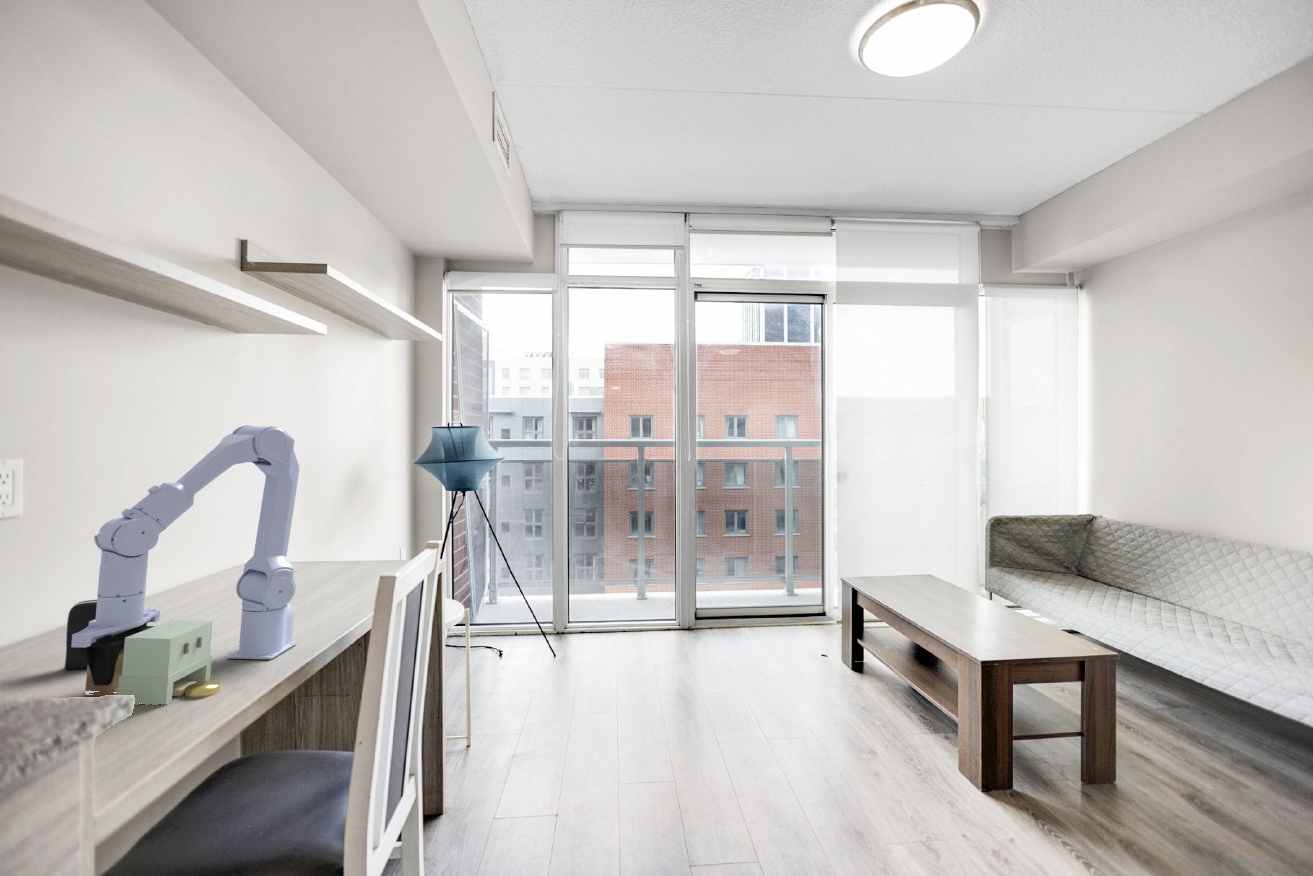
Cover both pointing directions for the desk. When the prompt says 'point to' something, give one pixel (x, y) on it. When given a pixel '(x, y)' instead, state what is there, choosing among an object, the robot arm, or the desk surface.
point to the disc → (202, 689)
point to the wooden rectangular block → (178, 686)
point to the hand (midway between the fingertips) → (114, 678)
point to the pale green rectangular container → (165, 660)
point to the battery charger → (76, 623)
